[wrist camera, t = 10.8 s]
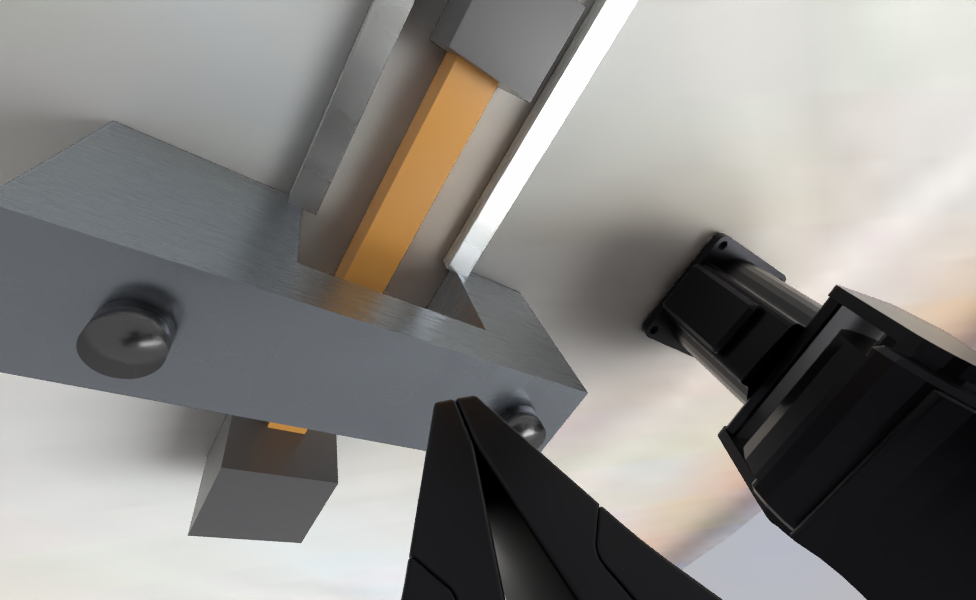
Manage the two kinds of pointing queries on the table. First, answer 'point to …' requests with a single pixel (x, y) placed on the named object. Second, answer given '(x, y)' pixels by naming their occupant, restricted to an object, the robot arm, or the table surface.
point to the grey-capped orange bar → (382, 255)
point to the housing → (275, 279)
